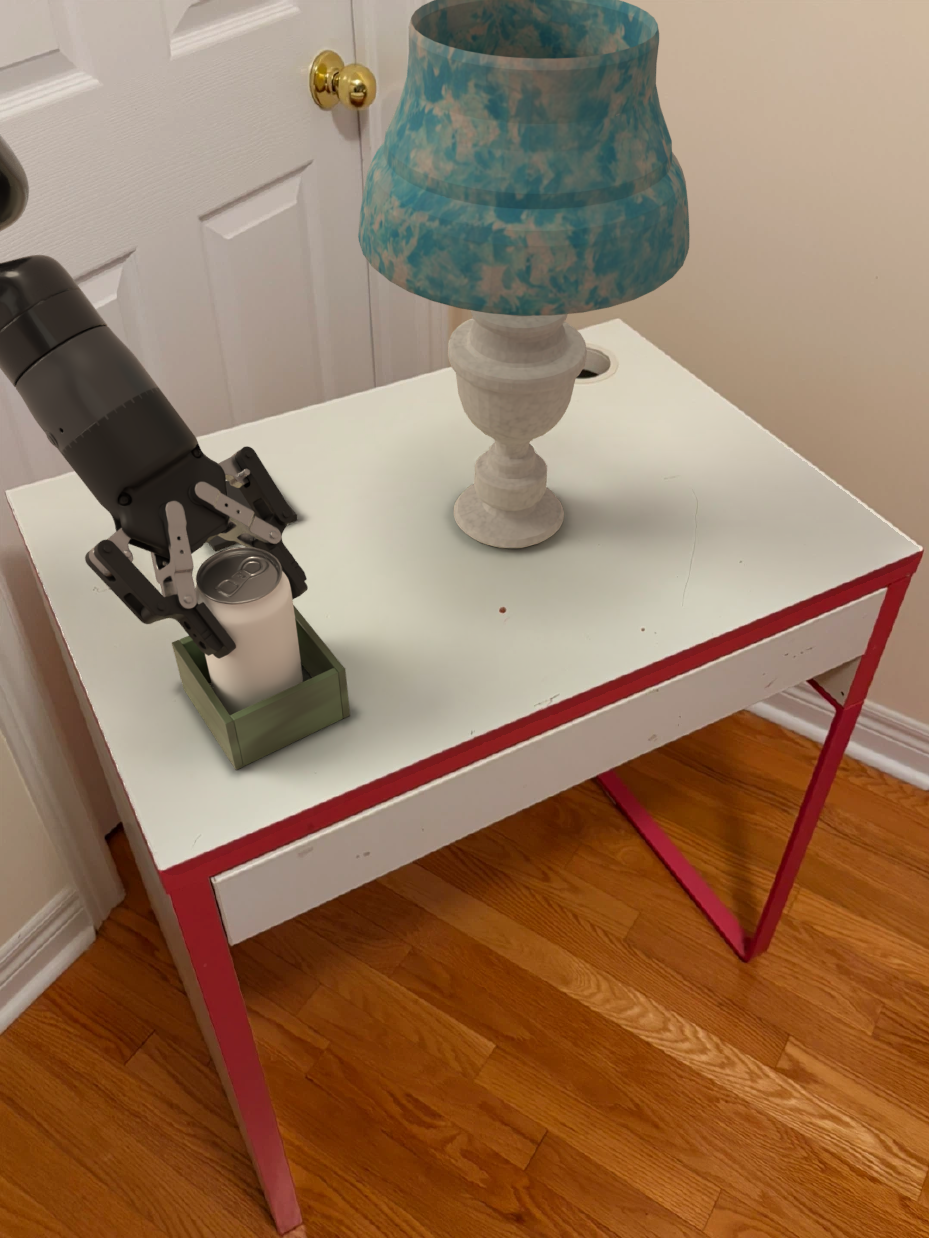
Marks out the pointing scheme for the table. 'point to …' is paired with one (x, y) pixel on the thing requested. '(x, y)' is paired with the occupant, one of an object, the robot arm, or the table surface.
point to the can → (250, 626)
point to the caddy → (269, 700)
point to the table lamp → (525, 214)
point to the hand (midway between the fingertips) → (264, 622)
